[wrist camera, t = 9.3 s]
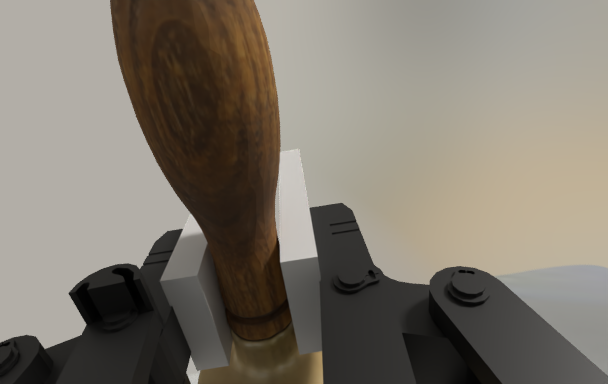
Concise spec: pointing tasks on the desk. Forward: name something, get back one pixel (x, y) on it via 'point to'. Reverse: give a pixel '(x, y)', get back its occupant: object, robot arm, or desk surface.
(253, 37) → the hand bell
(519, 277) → the desk surface
